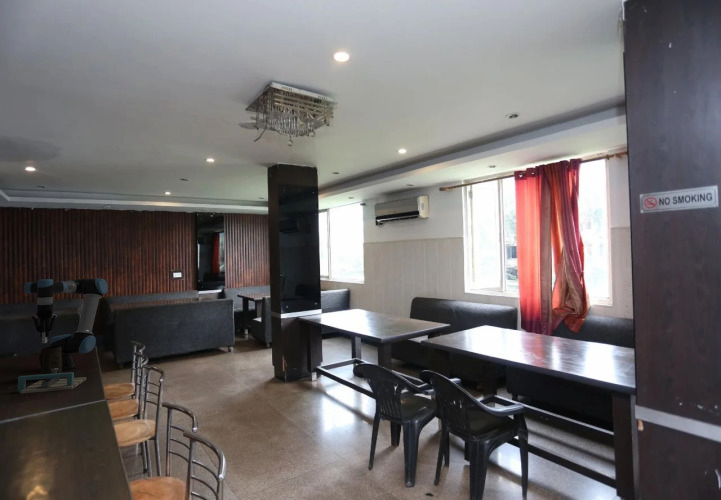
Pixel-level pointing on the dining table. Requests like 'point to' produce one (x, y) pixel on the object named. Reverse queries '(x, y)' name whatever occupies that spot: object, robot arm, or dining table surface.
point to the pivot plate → (53, 385)
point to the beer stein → (50, 360)
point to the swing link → (49, 382)
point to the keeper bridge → (44, 376)
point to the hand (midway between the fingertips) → (44, 342)
